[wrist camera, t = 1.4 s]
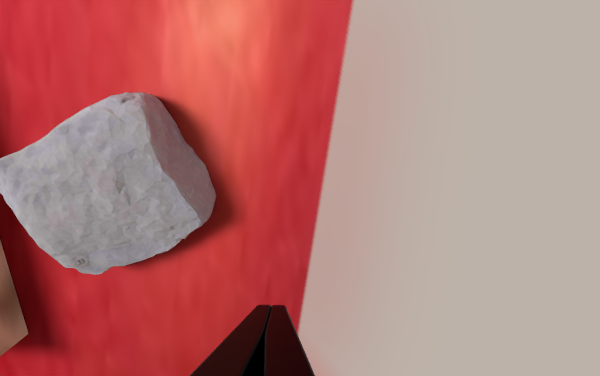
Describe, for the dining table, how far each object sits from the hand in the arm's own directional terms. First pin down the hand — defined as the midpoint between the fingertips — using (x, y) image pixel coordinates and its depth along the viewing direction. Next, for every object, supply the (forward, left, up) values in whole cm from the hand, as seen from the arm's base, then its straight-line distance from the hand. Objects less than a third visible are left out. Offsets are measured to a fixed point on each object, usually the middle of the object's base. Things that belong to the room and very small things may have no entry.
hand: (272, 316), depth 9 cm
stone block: (+1, +12, -12) cm, 17 cm away
